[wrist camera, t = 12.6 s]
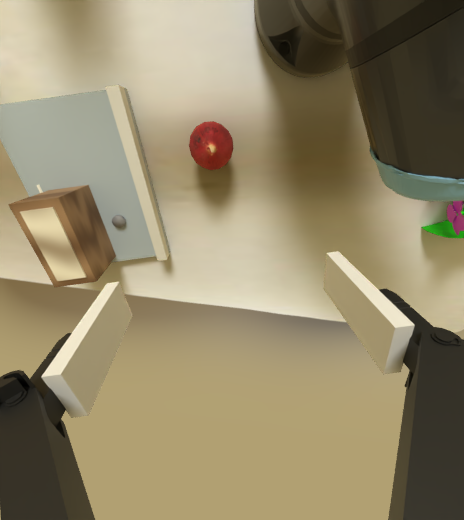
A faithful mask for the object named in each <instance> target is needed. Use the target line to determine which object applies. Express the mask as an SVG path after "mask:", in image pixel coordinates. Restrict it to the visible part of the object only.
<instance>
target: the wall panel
mask: <svg viewBox="0 0 464 520" xmlns="http://www.w3.org/2000/svg"><path fill="white" fill-rule="evenodd" d="M105 88H106V90H102V91H95V92H88V93H80V94H73V95H66V96H59V97H51V98H44V99H37V100H30V101H22V102H15V103H8V104H1V105H0V140H1V142H2V144H3V146H4V148H5V150H6V151H7V153H8V155H9V157H10V159H11V161H12V163H13V165H14V167H15V169H16V171H17V173H18V175H19V177H20V179H21V181H22V183H23V185H24V187H25V189H26V191H27V193H28V195H29V197H31V196H34V195H37V194H39V193H42V192H45V191H48V190H54V189H61V188H69V187H76V186H83V185H89V187H90V190H91V192H92V195H93V198H94V200H95V203H96V205H97V208H98V210H99V213H100V216H101V218H102V221H103V223H104V226H105V228H106V231H107V234H108V236H109V239H110V241H111V244H112V247H113V249H114V252H115V254H116V257H115V258H114V260H113V261H112V262H118V261H125V260H132V259H139V258H146V257H154V256H156V257H157V260H158V261H161V260H167V259H168V256H169V253H170V249H169V245H168V241H167V237H166V234H165V230H164V226H163V222H162V219H161V215H160V211H159V208H158V204H157V200H156V196H155V193H154V189H153V185H152V181H151V178H150V174H149V170H148V166H147V163H146V159H145V155H144V152H143V148H142V144H141V140H140V137H139V133H138V129H137V125H136V122H135V118H134V114H133V110H132V107H131V103H130V99H129V96H128V92H127V89H126V88H124V87H122V86H120V85H114V86H107V87H105Z"/></svg>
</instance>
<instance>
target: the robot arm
mask: <svg viewBox="0 0 464 520" xmlns="http://www.w3.org/2000/svg"><path fill="white" fill-rule="evenodd" d="M254 6H255V18H256V24H257V28H258V32H259V35H260V38H261V41H262V43H263V45H264V47H265V49H266V51H267V53H268V54H269V55H270V57H271V58H272V59H273V61H274V62H275V63H276V64H277V65H278V66H279V67H281V68H282V69H283V70H285V71H286V72H288V73H290V74H293V75H295V76H299V77H306V78H311V77H318V76H322V75H325V74H328V73H330V72H332V71H334V70H336V69H338V68H340V67H341V66H343V65H344V64H346V63H347V62H349V65H350V70H351V74H352V78H353V82H354V85H355V89H356V93H357V97H358V101H359V104H360V108H361V112H362V116H363V120H364V123H365V127H366V131H367V135H368V139H369V142H370V153H371V156H372V158H373V159H374V160H375V161H376V164H377V167H378V170H379V173H380V176H381V178H382V180H383V182H384V184H385V185H386V186H387V187H389V188H391V189H392V190H393V191H394V192H396V193H397V194H399V195H402V196H405V197H408V198H412V199H417V200H423V201H438V202H446V201H463V200H464V0H254ZM324 290H325V291H326V293H327V294H328V296H329V297H330V298H331V300H332V301H333V303H334V304H335V306H336V307H337V309H338V310H339V311H340V313H341V314H342V316H343V317H344V319H345V320H346V321H347V323H348V324H349V326H350V327H351V329H352V330H353V331H354V333H355V334H356V336H357V337H358V338H359V340H360V341H361V343H362V344H363V346H364V347H365V349H366V350H367V352H368V353H369V354H370V356H371V357H372V358H373V360H374V362H375V363H376V364H377V366H378V367H379V369H380V370H381V372H382V373H383V374H389V373H397V372H401V369H402V366H403V362H404V363H405V365H406V366H407V367H408V368H409V370H410V371H409V375H408V378H407V381H406V384H405V387H407V389H406V396H405V403H404V410H403V417H402V425H401V432H400V439H399V446H398V453H397V461H396V468H395V475H394V482H393V489H392V497H391V504H390V511H389V519H388V520H464V340H462V339H461V338H460V337H459V336H458V335H456V334H454V333H453V332H451V331H448V330H446V329H443V328H437V327H433V326H432V325H431V324H430V323H429V322H427V321H426V320H425V319H424V318H423V317H422V316H421V315H420V314H418V313H417V312H416V311H415V310H414V309H413V308H412V307H411V308H410V306H409V305H408V304H407V303H406V302H404V300H403V299H402V298H400V297H399V296H398V295H397V294H396V293H394V292H392V291H390V290H388V289H380V290H378V289H377V288H376V287H375V286H374V285H373V284H372V283H371V282H370V281H369V280H368V279H367V278H366V277H365V276H363V275H362V274H361V273H360V272H359V271H358V270H357V269H356V268H355V267H354V266H353V265H352V264H351V263H350V262H349V261H348V260H347V259H346V258H345V257H344V256H343V255H342V254H341V253H340V252H339V251H337V252H329V253H326V264H325V279H324ZM132 316H133V315H132V312H131V310H130V308H129V305H128V302H127V300H126V297H125V295H124V293H123V290H122V288H121V285H120V283H119V282H113V283H107V284H106V285H105V287H104V288H103V290H102V291H101V293H100V294H99V295H98V297H97V298H96V300H95V301H94V303H93V304H92V306H91V307H90V308H89V310H88V311H87V313H86V314H85V315H84V317H83V318H82V320H81V321H80V322H79V324H78V325H77V327H76V328H75V330H74V331H73V333H68V334H66V335H65V336H64V337H63V338H61V339H60V340H59V341H58V342H57V343H56V345H55V346H54V347H53V349H52V351H51V352H50V353H49V354H48V356H47V357H46V359H44V361H43V362H42V364H41V365H40V366H39V368H38V369H37V370H36V372H35V373H34V374H33V376H32V377H31V378H30V379H29V378H28V376H27V375H26V374H25V373H24V371H20V370H17V371H13V372H10V373H7V374H5V375H3V376H1V377H0V510H1V520H95V518H94V515H93V512H92V508H91V505H90V503H89V500H88V496H87V493H86V490H85V487H84V484H83V480H82V477H81V474H80V471H79V468H78V465H77V462H76V459H75V456H74V453H73V449H72V446H71V443H70V440H69V437H68V434H67V430H66V427H65V424H64V422H63V421H62V420H61V418H62V416H63V414H64V412H65V410H66V411H67V412H68V414H69V415H70V416H71V418H73V417H81V416H88V415H89V414H90V411H91V409H92V407H93V405H94V402H95V400H96V398H97V395H98V393H99V391H100V389H101V386H102V384H103V382H104V380H105V377H106V375H107V373H108V371H109V368H110V366H111V364H112V361H113V359H114V357H115V354H116V352H117V350H118V348H119V346H120V343H121V341H122V339H123V336H124V334H125V332H126V330H127V327H128V325H129V323H130V320H131V318H132Z"/></svg>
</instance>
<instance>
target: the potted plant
mask: <svg viewBox="0 0 464 520" xmlns="http://www.w3.org/2000/svg"><path fill="white" fill-rule="evenodd" d="M463 203H464V200H463V201H453V206H452V205H448V207H447V217H448V220H446V221H443V222H440V223H437V224H433V225H429V226H425V227H421V228H423V229H425V230H426V231H428V232H431V233H434V234H436V235H440V236H443V237H448V238H464V217H463V215H464V208H463V211H462V212H461V210H462V205H463ZM453 208H454V209H453ZM454 210H455V211H456V212H457V213H456V212H455V211H454Z"/></svg>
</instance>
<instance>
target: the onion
mask: <svg viewBox="0 0 464 520" xmlns="http://www.w3.org/2000/svg"><path fill="white" fill-rule="evenodd" d="M189 147H190V151H191V155H192V157H193V158H194V160H195V161H196V163H197V164H199V165H200V166H202V167H203V168H206V169H209V170H215V169H220V168H221V167H223V166H224V165H226V164H227V162H228V161H229V159H230V158H231V155H232V151H233V140H232V137H231V135H230V133H229V131H228V130H227V129H226V128H225V127H224V126H222V125H221V124H219V123H216V122H214V121H213V122H204V123H202V124H200V125H199V126H197V127H196V128H195V129H194V131H193V133H192V134H191V136H190V144H189Z"/></svg>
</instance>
